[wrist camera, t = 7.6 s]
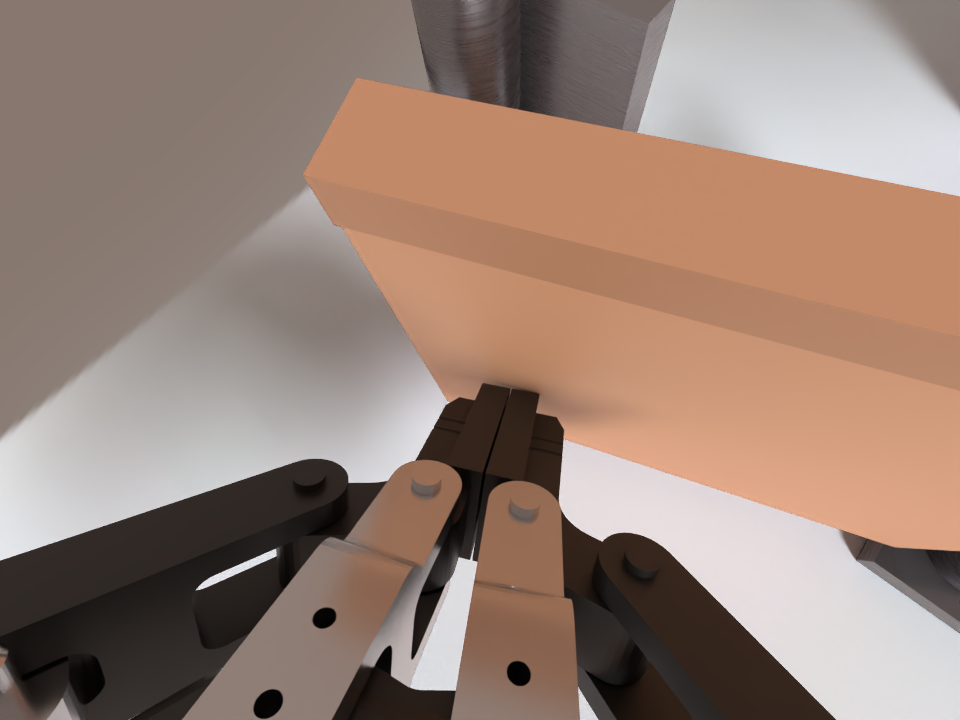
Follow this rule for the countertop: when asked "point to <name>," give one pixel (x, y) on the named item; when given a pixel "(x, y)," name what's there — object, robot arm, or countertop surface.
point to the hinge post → (919, 576)
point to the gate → (671, 300)
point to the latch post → (546, 54)
